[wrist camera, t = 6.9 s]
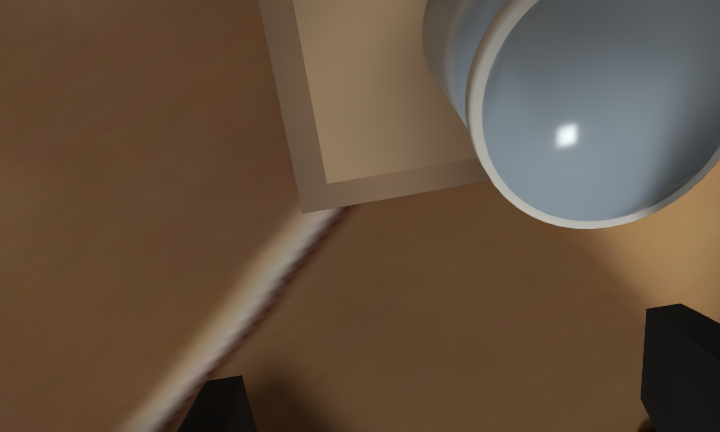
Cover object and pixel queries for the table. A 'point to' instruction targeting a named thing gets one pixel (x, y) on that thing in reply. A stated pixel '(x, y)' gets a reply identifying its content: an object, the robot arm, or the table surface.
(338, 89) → the box
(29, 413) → the table surface
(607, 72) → the cup
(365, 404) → the table surface
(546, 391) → the table surface
